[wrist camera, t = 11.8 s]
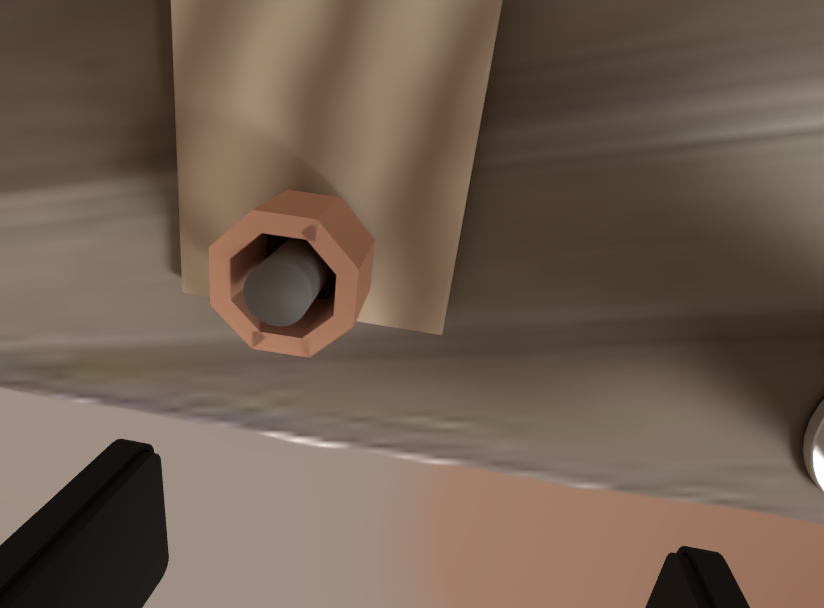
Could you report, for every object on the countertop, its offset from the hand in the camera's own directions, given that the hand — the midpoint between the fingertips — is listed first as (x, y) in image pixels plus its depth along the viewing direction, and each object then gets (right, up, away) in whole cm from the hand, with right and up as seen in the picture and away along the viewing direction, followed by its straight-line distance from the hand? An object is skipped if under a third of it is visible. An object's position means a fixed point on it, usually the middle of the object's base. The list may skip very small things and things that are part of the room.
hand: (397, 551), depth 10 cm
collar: (-5, +7, +19) cm, 21 cm away
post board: (-4, +14, +19) cm, 24 cm away
